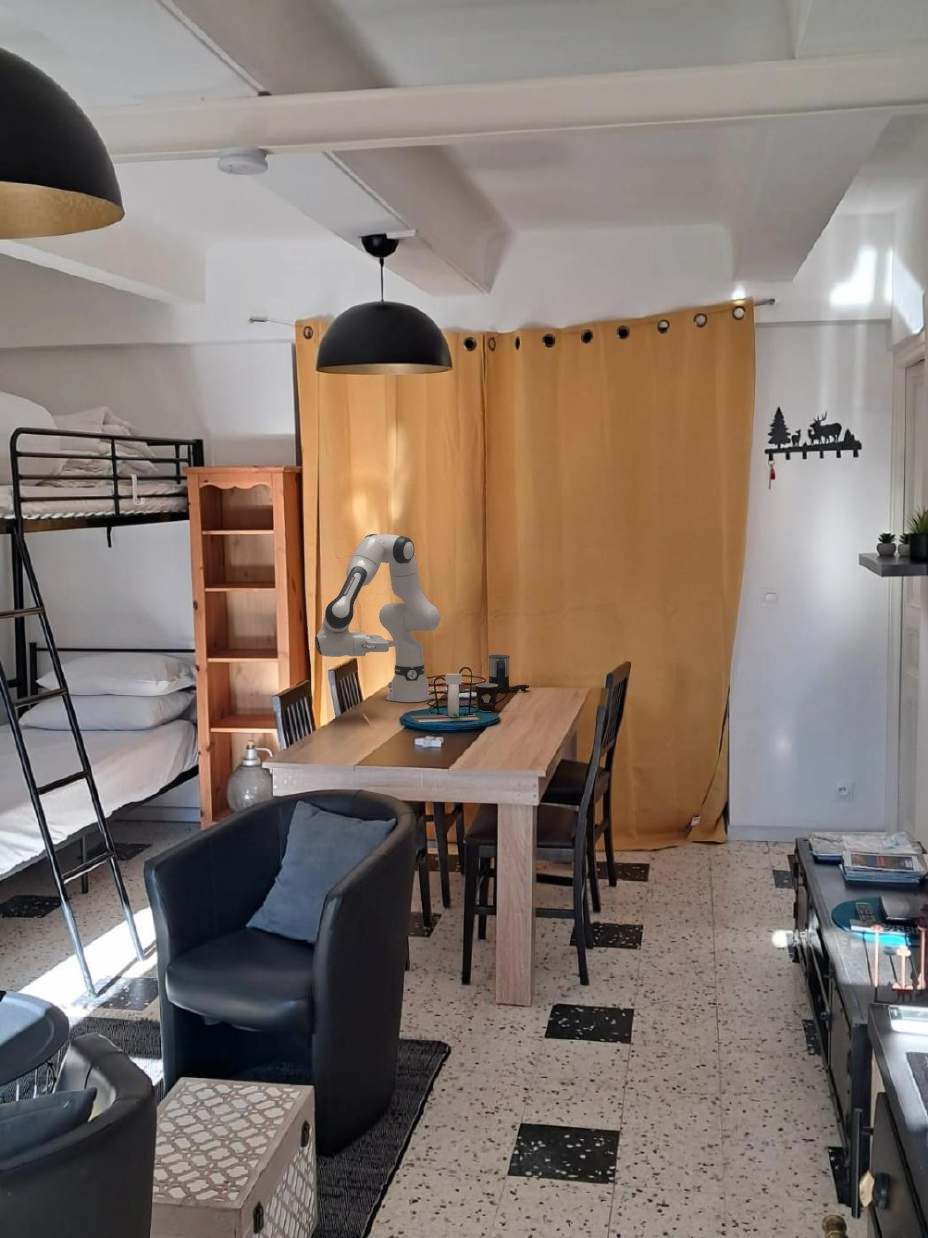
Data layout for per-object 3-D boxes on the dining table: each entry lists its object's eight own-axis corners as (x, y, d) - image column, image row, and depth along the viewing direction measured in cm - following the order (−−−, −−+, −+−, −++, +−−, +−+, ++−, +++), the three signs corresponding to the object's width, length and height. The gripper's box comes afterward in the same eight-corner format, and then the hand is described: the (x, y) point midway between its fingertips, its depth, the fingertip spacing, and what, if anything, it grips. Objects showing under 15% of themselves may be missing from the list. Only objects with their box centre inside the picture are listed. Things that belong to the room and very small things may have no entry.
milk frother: (484, 689, 511) (484, 654, 509) (517, 687, 517) (518, 652, 516) (498, 694, 498) (499, 659, 496) (532, 692, 504) (533, 657, 503)
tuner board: (410, 720, 444) (410, 715, 443) (473, 717, 449) (473, 713, 449) (416, 726, 432) (416, 721, 432) (481, 723, 437) (481, 719, 437)
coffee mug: (471, 711, 461) (471, 685, 459) (481, 708, 468) (481, 682, 467) (498, 714, 455) (498, 688, 454) (508, 710, 463) (508, 685, 462)
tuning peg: (444, 715, 442) (444, 673, 440) (459, 714, 443) (459, 673, 442) (449, 719, 435) (449, 676, 433) (464, 718, 436) (464, 676, 434)
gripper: (364, 639, 431) (402, 638, 434) (356, 632, 451) (392, 631, 454) (364, 656, 432) (402, 655, 435) (356, 649, 451) (392, 648, 455)
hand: (397, 643), depth 444 cm, fingers closed
